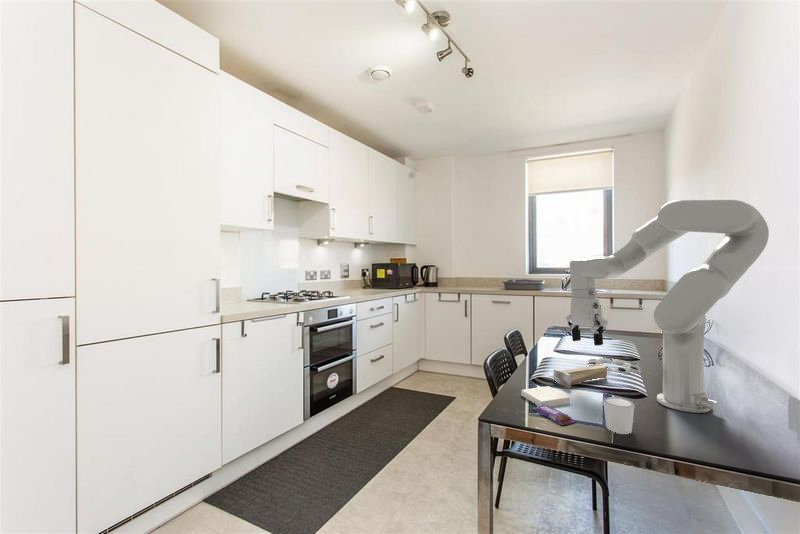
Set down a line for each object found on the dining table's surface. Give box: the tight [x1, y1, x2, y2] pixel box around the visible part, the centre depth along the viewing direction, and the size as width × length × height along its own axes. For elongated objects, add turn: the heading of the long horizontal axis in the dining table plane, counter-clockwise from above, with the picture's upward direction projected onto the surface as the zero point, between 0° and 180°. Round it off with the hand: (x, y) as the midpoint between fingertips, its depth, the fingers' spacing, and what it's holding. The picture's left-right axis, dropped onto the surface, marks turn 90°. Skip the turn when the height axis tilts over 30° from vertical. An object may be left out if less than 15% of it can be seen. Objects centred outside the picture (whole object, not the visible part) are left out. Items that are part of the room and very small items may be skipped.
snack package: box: [531, 406, 577, 426], centre depth 101 cm, size 12×2×5 cm
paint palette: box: [586, 357, 642, 374], centre depth 143 cm, size 20×20×2 cm
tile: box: [521, 385, 571, 407], centre depth 113 cm, size 10×2×10 cm
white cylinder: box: [602, 396, 635, 435], centre depth 93 cm, size 7×7×7 cm
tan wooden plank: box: [553, 364, 608, 389], centre depth 128 cm, size 7×19×4 cm, turn 108°
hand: (587, 342), depth 127 cm, fingers open, 9 cm apart
